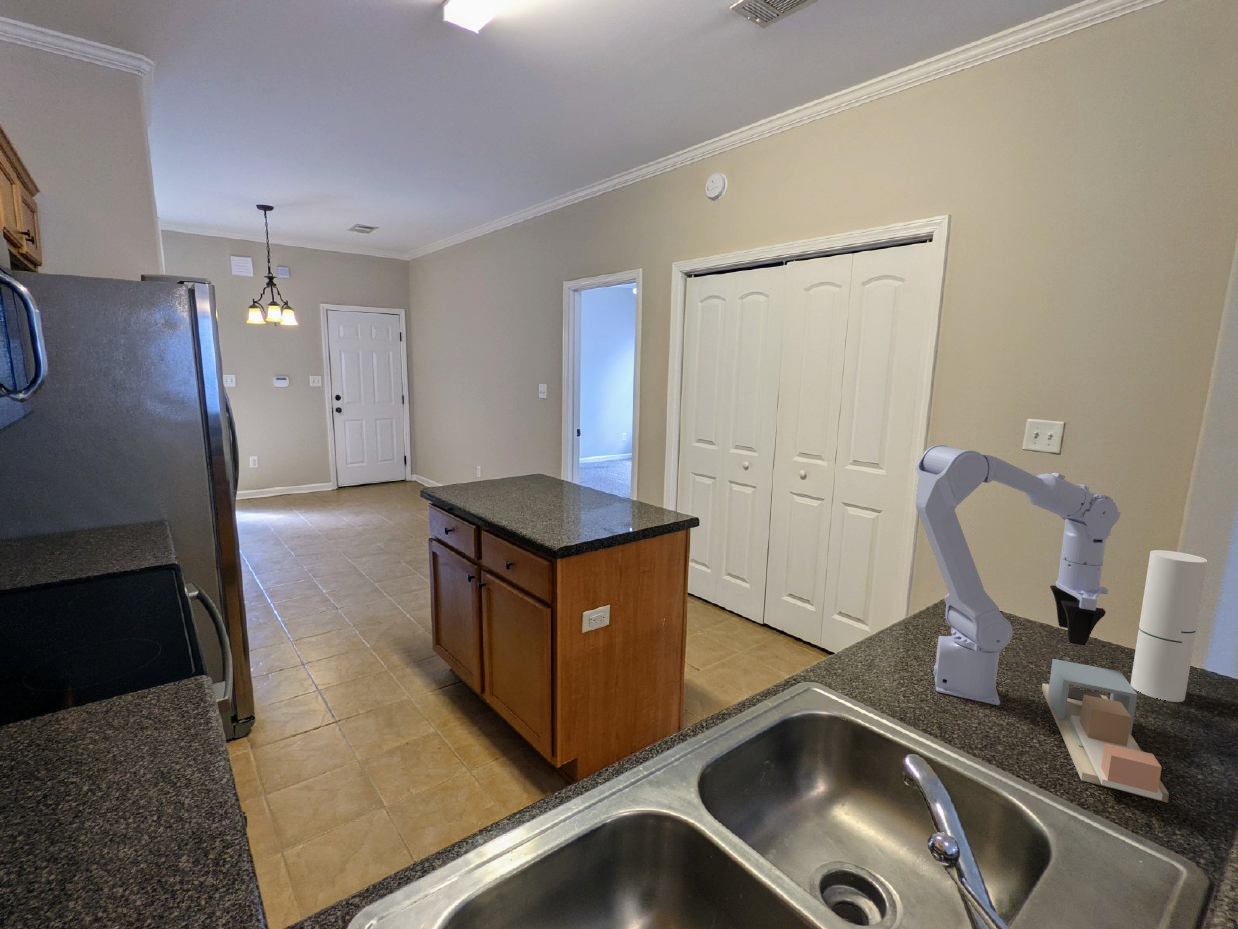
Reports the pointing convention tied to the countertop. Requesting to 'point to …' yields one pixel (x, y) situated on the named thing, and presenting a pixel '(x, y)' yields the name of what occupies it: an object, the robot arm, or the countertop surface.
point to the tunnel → (1088, 685)
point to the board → (1074, 742)
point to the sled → (1115, 748)
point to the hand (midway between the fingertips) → (1071, 635)
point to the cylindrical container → (1168, 624)
